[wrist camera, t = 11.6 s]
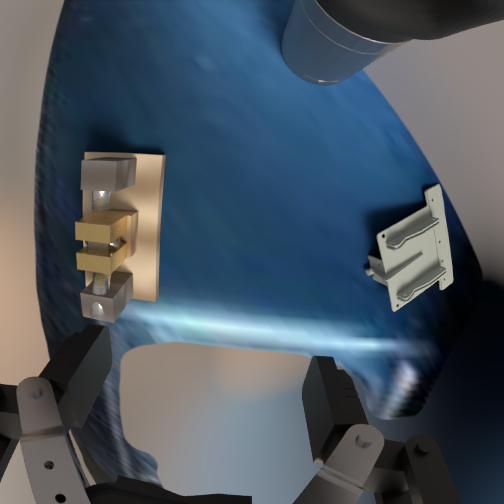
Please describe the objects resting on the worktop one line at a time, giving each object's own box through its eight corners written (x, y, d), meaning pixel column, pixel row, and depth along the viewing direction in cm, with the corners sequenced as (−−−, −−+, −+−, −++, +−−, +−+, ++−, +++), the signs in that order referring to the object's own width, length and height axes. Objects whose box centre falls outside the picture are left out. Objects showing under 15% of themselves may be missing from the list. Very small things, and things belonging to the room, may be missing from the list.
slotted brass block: (127, 257, 34) (110, 274, 30) (96, 253, 34) (77, 269, 29) (127, 214, 33) (110, 225, 28) (96, 211, 33) (75, 222, 28)
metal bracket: (399, 332, 37) (376, 224, 32) (373, 316, 42) (347, 217, 38) (465, 280, 39) (453, 181, 34) (439, 270, 44) (423, 179, 40)
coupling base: (90, 151, 34) (53, 155, 26) (165, 155, 35) (142, 158, 27) (91, 285, 40) (62, 315, 32) (158, 296, 40) (139, 331, 32)
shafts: (98, 159, 29) (82, 161, 26) (115, 159, 29) (100, 162, 26) (100, 307, 35) (88, 322, 31) (115, 310, 35) (104, 326, 31)
